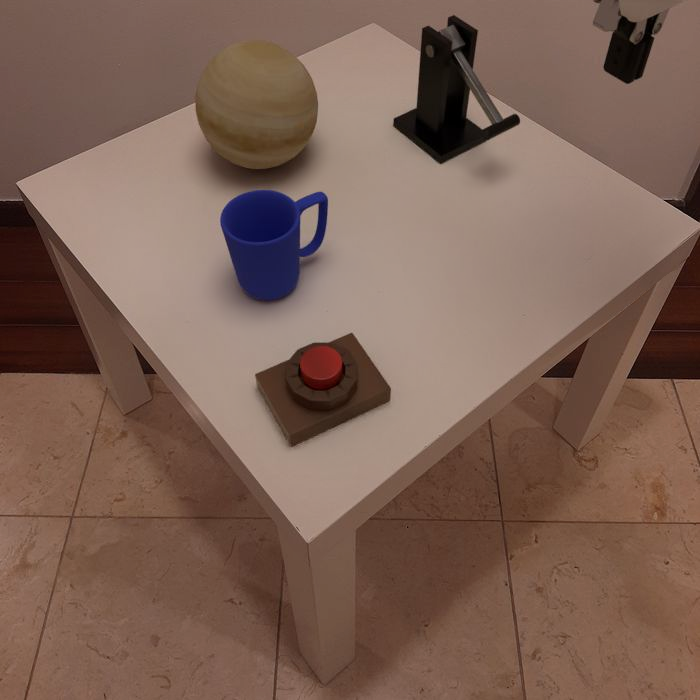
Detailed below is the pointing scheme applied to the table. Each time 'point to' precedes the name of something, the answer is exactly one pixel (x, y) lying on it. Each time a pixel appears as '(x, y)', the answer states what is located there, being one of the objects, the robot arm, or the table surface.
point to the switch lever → (478, 88)
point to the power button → (321, 367)
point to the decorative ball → (256, 104)
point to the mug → (269, 239)
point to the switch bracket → (442, 97)
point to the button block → (322, 391)
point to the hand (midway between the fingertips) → (621, 74)
